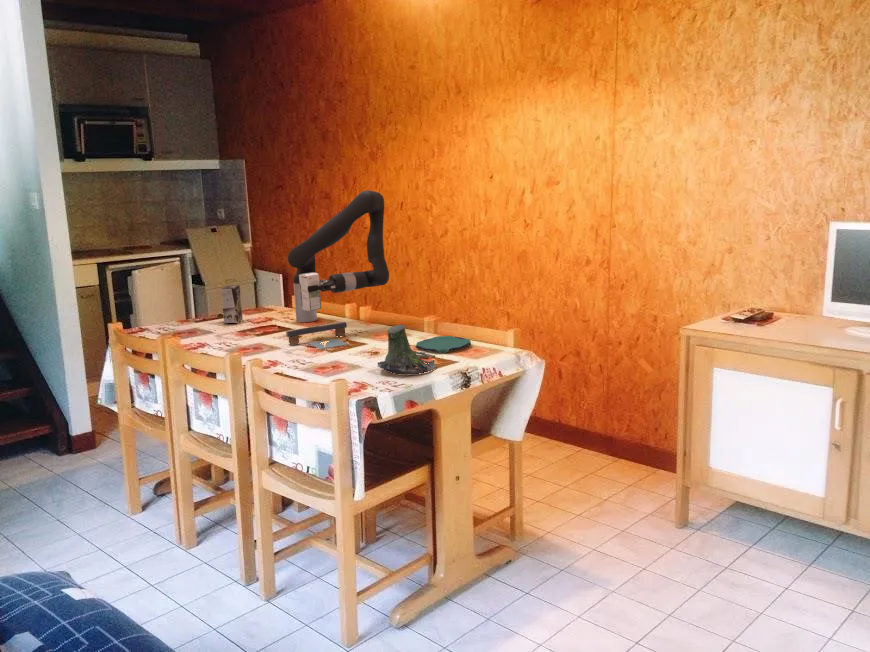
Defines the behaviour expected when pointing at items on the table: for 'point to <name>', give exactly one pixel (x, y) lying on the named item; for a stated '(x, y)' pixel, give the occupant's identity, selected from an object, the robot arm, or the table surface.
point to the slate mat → (329, 343)
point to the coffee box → (231, 304)
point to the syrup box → (309, 299)
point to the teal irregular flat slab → (441, 344)
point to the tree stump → (403, 355)
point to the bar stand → (338, 332)
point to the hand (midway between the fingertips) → (304, 288)
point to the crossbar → (316, 329)
